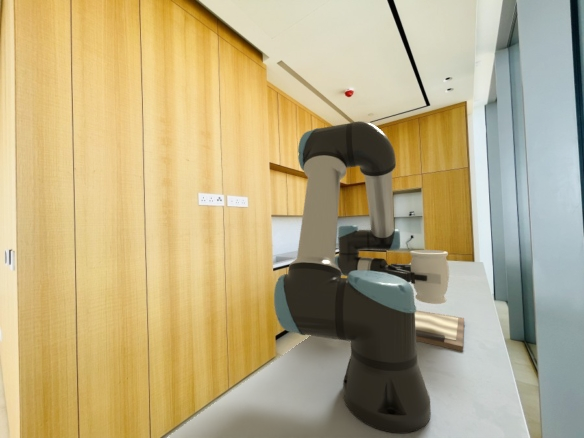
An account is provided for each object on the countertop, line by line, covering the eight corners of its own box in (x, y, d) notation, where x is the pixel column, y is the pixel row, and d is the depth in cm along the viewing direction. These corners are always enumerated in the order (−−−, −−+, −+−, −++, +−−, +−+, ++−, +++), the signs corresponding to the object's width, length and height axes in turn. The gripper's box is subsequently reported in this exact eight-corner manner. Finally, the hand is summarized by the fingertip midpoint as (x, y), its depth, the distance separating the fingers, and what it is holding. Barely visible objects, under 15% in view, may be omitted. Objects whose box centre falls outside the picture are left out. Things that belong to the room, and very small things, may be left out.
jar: (448, 308, 69) (446, 254, 69) (408, 301, 75) (406, 252, 75) (451, 298, 77) (449, 250, 77) (415, 293, 83) (413, 249, 84)
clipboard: (462, 351, 62) (462, 342, 62) (395, 336, 71) (395, 328, 72) (464, 321, 80) (463, 314, 80) (410, 312, 89) (410, 306, 89)
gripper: (386, 273, 97) (452, 280, 82) (359, 285, 79) (436, 297, 65) (385, 254, 97) (451, 258, 82) (358, 262, 80) (435, 269, 65)
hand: (444, 275), depth 73 cm, fingers closed on jar, 11 cm apart
